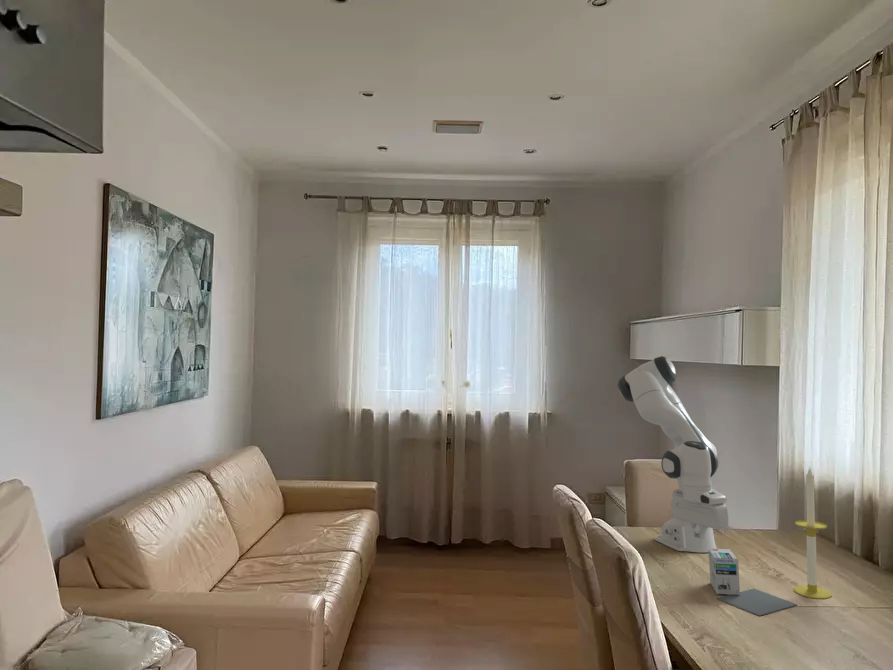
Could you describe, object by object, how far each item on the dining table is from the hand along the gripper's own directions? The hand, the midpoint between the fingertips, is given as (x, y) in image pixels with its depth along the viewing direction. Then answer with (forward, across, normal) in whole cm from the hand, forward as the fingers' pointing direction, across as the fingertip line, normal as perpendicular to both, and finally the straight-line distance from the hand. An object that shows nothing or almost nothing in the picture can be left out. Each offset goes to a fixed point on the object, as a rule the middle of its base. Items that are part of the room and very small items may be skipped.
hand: (699, 537), depth 204 cm
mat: (+14, +20, +1) cm, 24 cm away
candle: (+14, +22, +22) cm, 34 cm away
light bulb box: (+14, +9, 0) cm, 16 cm away
